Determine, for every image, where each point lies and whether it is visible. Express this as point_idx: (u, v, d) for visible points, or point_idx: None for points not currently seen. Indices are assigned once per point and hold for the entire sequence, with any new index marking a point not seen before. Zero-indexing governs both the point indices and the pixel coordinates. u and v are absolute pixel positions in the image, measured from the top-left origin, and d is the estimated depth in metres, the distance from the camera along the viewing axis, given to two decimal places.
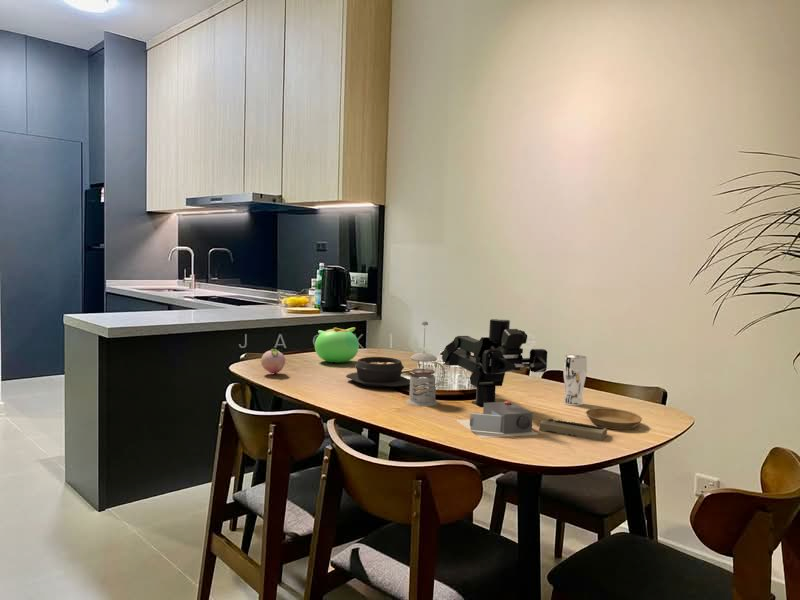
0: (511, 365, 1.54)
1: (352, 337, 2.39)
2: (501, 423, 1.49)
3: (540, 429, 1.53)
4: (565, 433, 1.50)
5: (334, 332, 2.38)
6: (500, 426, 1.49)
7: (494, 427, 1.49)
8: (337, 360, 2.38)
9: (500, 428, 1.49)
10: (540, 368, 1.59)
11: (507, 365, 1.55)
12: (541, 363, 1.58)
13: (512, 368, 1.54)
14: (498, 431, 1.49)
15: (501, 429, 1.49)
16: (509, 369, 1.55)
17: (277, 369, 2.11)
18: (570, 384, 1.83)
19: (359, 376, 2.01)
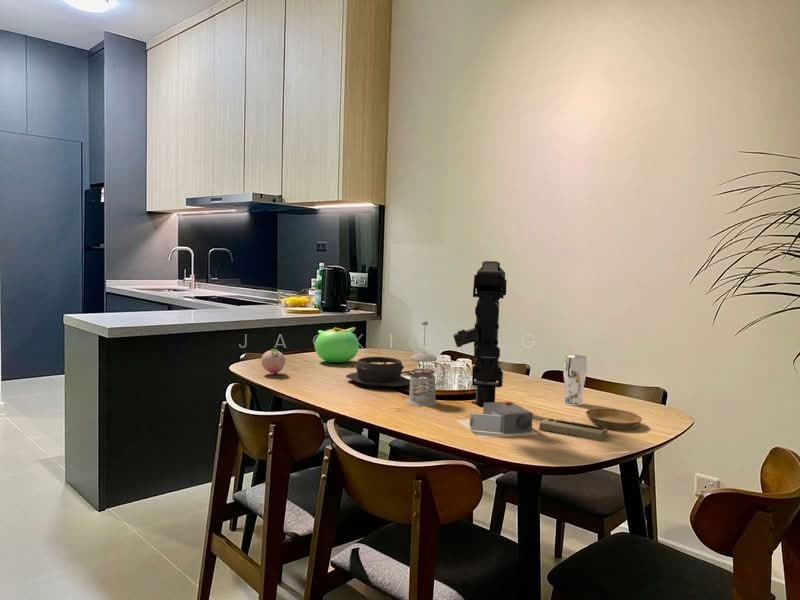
0: None
1: (352, 337, 2.39)
2: (501, 423, 1.49)
3: (540, 429, 1.54)
4: (564, 433, 1.51)
5: (334, 332, 2.38)
6: (500, 426, 1.49)
7: (494, 427, 1.49)
8: (337, 360, 2.38)
9: (500, 428, 1.49)
10: None
11: None
12: None
13: None
14: (498, 431, 1.49)
15: (501, 429, 1.49)
16: None
17: (277, 369, 2.11)
18: (570, 384, 1.83)
19: (359, 376, 2.01)
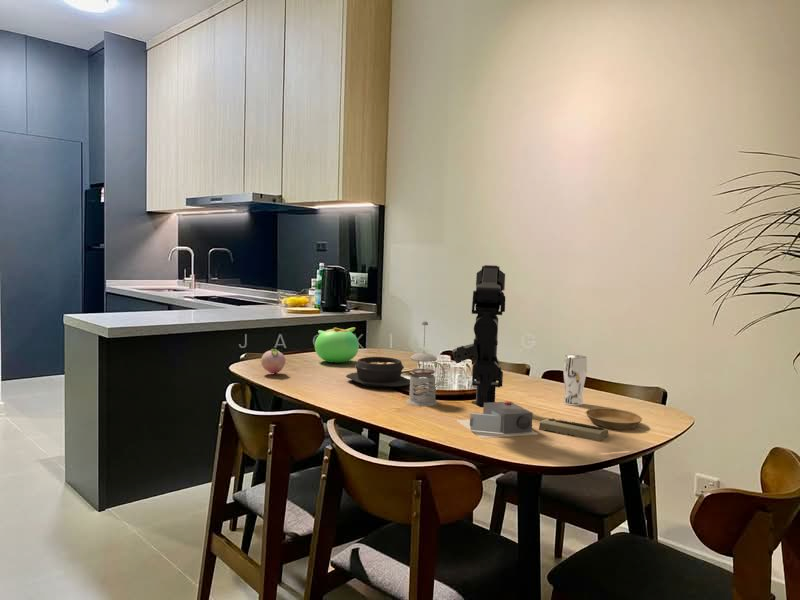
0: None
1: (352, 337, 2.39)
2: (501, 423, 1.49)
3: (540, 428, 1.54)
4: (564, 433, 1.51)
5: (334, 332, 2.38)
6: (500, 426, 1.49)
7: (494, 427, 1.49)
8: (337, 360, 2.38)
9: (500, 428, 1.49)
10: None
11: None
12: None
13: None
14: (498, 431, 1.49)
15: (501, 429, 1.49)
16: None
17: (277, 369, 2.11)
18: (570, 384, 1.83)
19: (359, 376, 2.01)
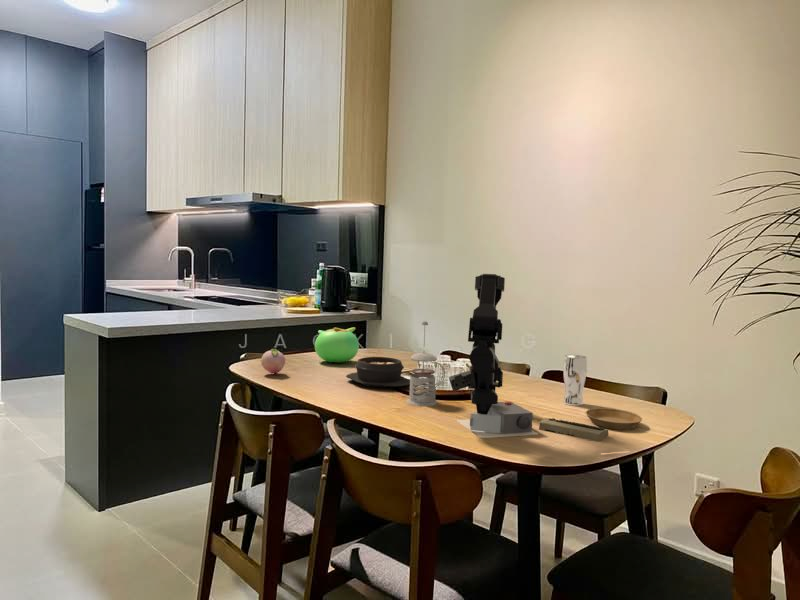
0: None
1: (352, 337, 2.39)
2: (501, 423, 1.49)
3: (539, 428, 1.54)
4: (563, 432, 1.51)
5: (334, 332, 2.38)
6: (500, 426, 1.49)
7: (494, 427, 1.49)
8: (337, 360, 2.38)
9: (500, 428, 1.49)
10: None
11: None
12: None
13: None
14: (498, 431, 1.49)
15: (501, 429, 1.49)
16: None
17: (277, 369, 2.11)
18: (570, 384, 1.83)
19: (359, 376, 2.01)
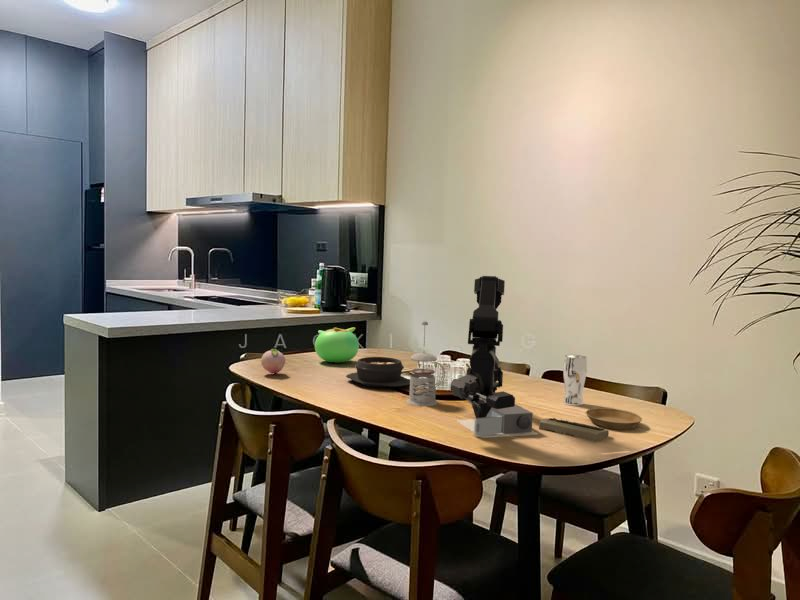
0: None
1: (352, 337, 2.39)
2: (502, 423, 1.49)
3: (539, 427, 1.55)
4: (563, 432, 1.51)
5: (334, 332, 2.38)
6: (501, 426, 1.49)
7: (496, 428, 1.48)
8: (337, 360, 2.38)
9: (501, 428, 1.49)
10: None
11: None
12: None
13: None
14: (499, 432, 1.49)
15: (502, 429, 1.49)
16: None
17: (277, 369, 2.11)
18: (570, 384, 1.83)
19: (359, 376, 2.01)
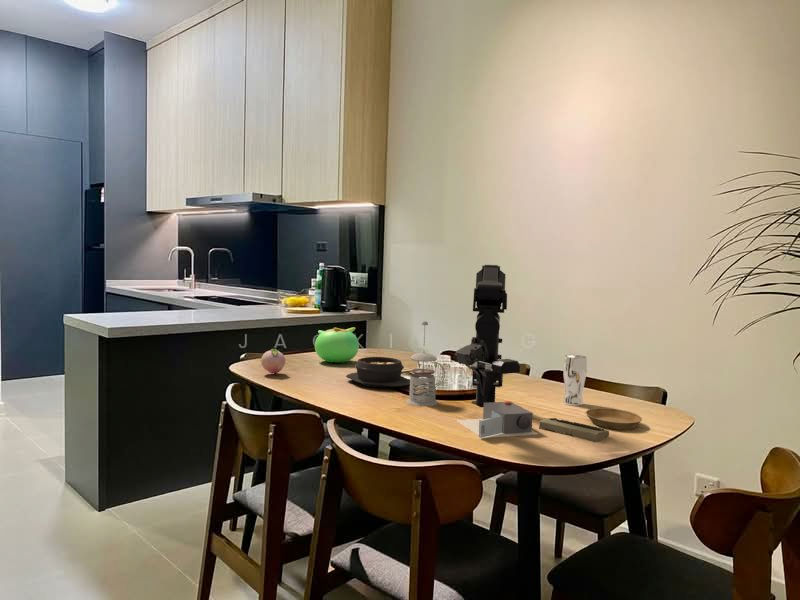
0: None
1: (352, 337, 2.39)
2: (502, 423, 1.49)
3: (539, 427, 1.55)
4: (562, 432, 1.51)
5: (334, 332, 2.38)
6: (501, 426, 1.49)
7: (498, 429, 1.48)
8: (337, 360, 2.38)
9: (502, 428, 1.49)
10: None
11: None
12: None
13: None
14: (500, 432, 1.49)
15: (502, 429, 1.49)
16: None
17: (277, 369, 2.11)
18: (570, 384, 1.83)
19: (359, 376, 2.01)
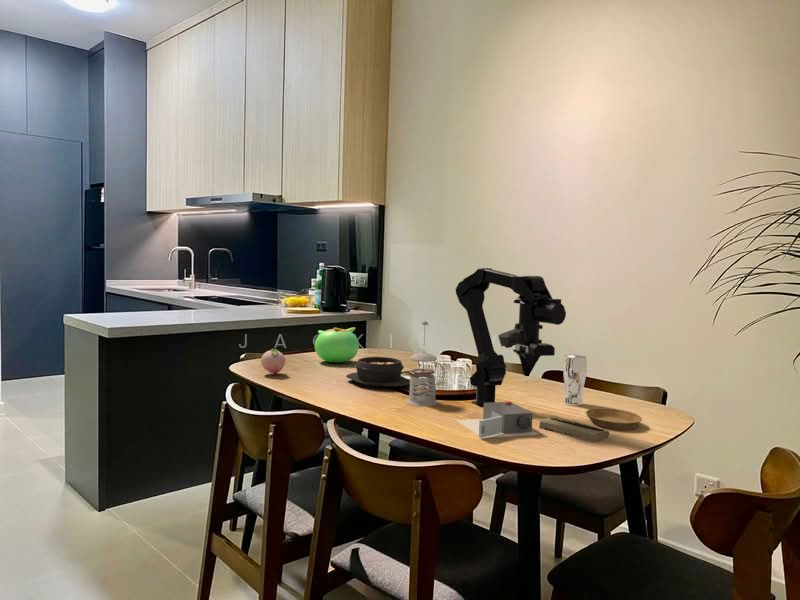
0: None
1: (352, 337, 2.39)
2: (502, 423, 1.49)
3: (540, 427, 1.56)
4: (562, 432, 1.51)
5: (334, 332, 2.38)
6: (501, 426, 1.49)
7: (498, 429, 1.48)
8: (337, 360, 2.38)
9: (502, 428, 1.49)
10: None
11: None
12: None
13: None
14: (500, 432, 1.49)
15: (502, 429, 1.49)
16: None
17: (277, 369, 2.11)
18: (570, 384, 1.83)
19: (359, 376, 2.01)
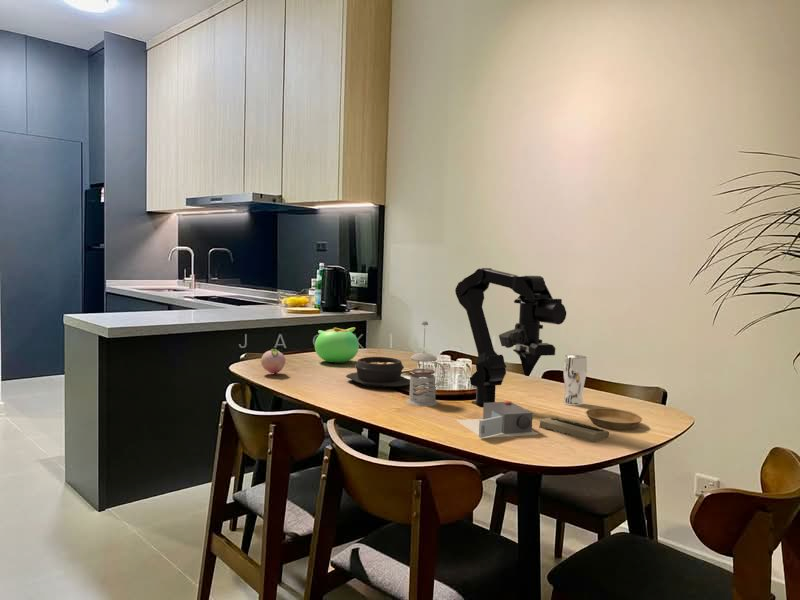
0: None
1: (352, 337, 2.39)
2: (502, 423, 1.49)
3: (540, 426, 1.56)
4: (561, 432, 1.51)
5: (334, 332, 2.38)
6: (501, 426, 1.49)
7: (498, 429, 1.48)
8: (337, 360, 2.38)
9: (502, 428, 1.49)
10: None
11: None
12: None
13: None
14: (500, 432, 1.49)
15: (502, 429, 1.49)
16: None
17: (277, 369, 2.11)
18: (570, 384, 1.83)
19: (359, 376, 2.01)
